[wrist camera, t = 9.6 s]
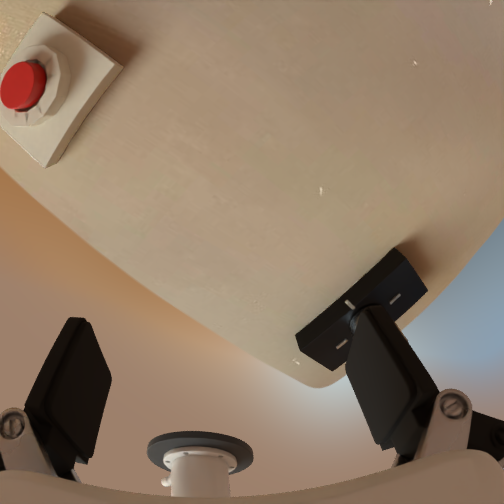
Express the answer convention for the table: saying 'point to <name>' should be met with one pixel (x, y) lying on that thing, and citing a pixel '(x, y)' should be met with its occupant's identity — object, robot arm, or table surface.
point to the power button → (22, 85)
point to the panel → (356, 298)
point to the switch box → (57, 88)
